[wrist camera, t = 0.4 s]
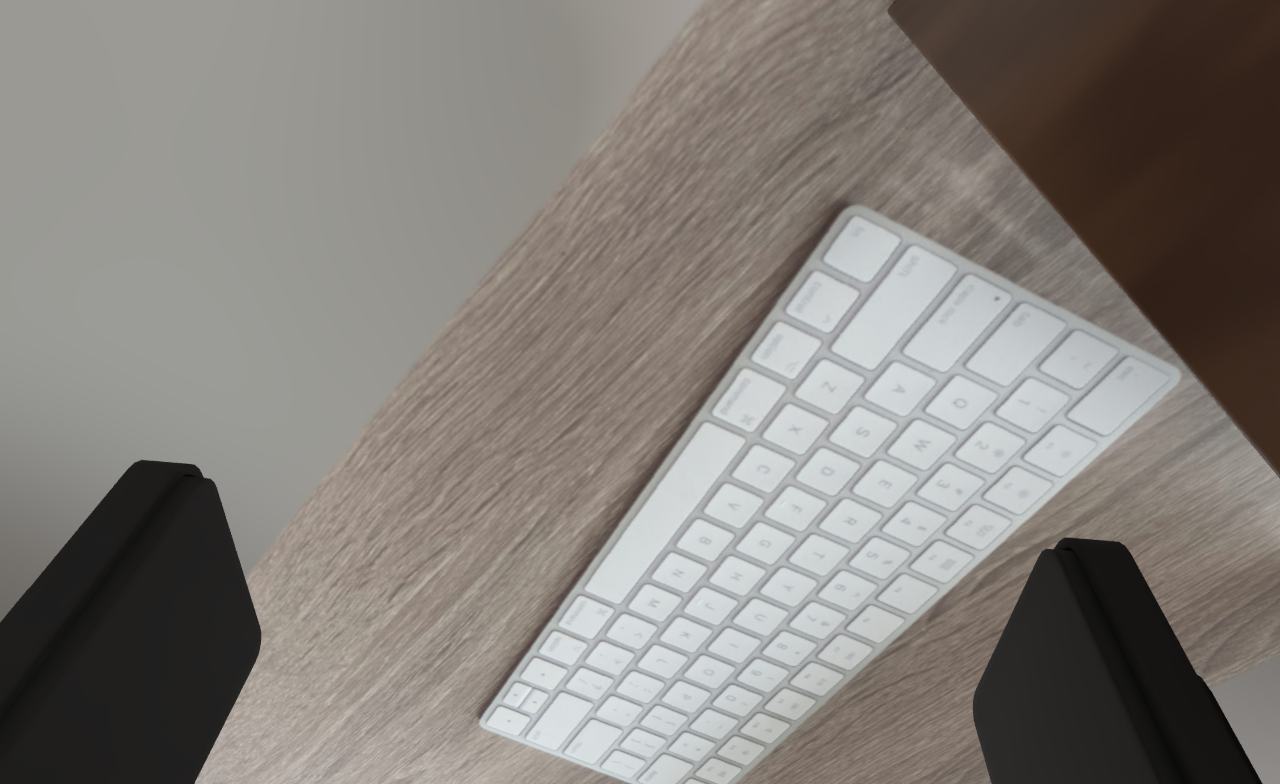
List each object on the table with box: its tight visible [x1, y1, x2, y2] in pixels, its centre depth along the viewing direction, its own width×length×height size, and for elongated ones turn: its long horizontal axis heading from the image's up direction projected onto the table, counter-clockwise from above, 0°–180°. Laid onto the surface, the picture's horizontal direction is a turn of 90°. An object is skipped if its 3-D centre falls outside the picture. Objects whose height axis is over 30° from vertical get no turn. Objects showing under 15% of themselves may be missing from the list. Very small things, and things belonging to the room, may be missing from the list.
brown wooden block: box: [887, 0, 1280, 478], centre depth 15 cm, size 6×6×24 cm
